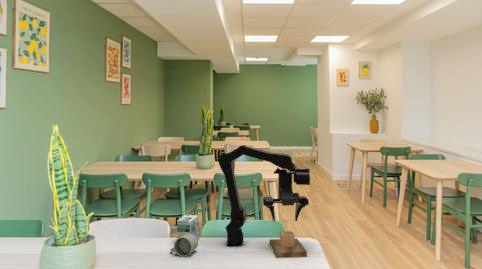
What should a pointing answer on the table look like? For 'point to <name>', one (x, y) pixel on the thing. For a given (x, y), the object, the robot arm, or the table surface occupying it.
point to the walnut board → (287, 249)
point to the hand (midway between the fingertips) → (285, 221)
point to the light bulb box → (188, 225)
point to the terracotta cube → (287, 239)
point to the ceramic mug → (185, 245)
